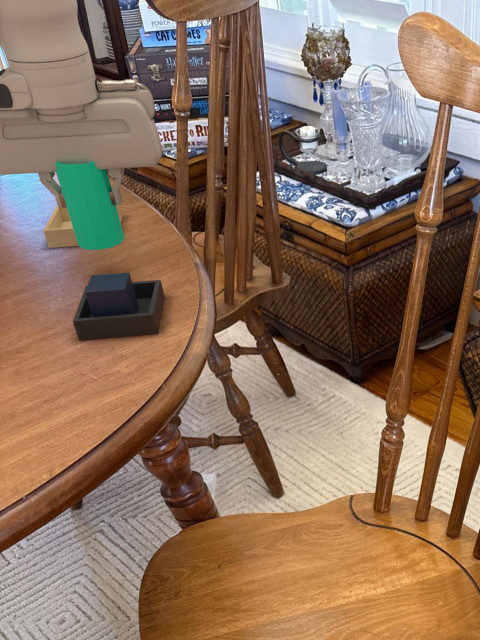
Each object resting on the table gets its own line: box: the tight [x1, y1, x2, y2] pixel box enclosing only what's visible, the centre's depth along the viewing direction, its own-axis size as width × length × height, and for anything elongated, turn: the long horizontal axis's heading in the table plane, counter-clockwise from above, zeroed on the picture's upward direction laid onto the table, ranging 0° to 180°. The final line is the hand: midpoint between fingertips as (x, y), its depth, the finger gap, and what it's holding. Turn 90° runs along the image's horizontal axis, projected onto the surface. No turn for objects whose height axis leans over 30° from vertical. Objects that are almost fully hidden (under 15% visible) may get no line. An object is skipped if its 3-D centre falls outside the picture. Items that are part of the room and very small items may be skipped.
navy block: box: [85, 271, 139, 317], centre depth 93 cm, size 4×4×4 cm
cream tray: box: [42, 205, 123, 249], centre depth 114 cm, size 9×9×2 cm
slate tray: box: [72, 279, 166, 341], centre depth 95 cm, size 9×9×2 cm
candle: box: [55, 161, 125, 251], centre depth 98 cm, size 6×6×12 cm
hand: (90, 205), depth 99 cm, fingers closed on candle, 5 cm apart
